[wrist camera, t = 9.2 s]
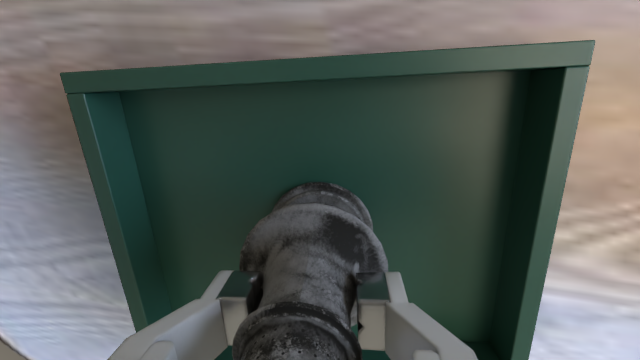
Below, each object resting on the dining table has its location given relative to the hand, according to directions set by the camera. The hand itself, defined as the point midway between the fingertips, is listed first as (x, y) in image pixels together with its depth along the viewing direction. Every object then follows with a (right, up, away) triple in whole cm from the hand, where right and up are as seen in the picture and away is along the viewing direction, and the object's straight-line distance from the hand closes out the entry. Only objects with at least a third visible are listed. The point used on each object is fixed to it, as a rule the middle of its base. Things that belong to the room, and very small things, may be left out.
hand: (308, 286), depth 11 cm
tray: (0, +2, +5) cm, 5 cm away
